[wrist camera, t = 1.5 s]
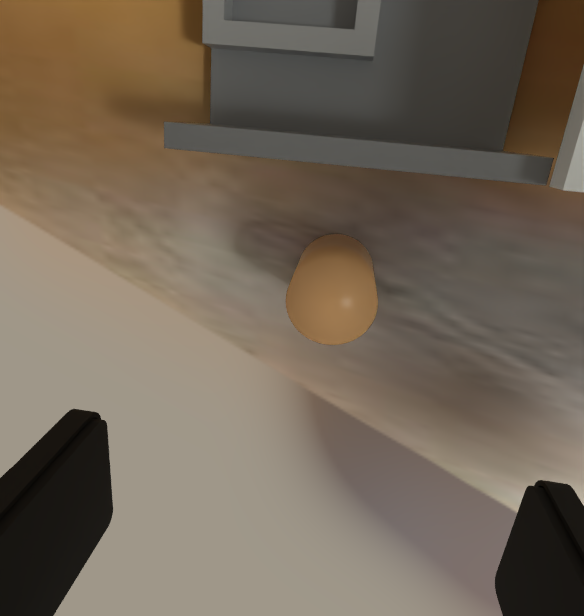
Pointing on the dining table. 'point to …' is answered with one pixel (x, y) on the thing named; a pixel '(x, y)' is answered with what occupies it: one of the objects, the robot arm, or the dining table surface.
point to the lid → (572, 148)
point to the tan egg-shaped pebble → (333, 291)
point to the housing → (367, 85)
